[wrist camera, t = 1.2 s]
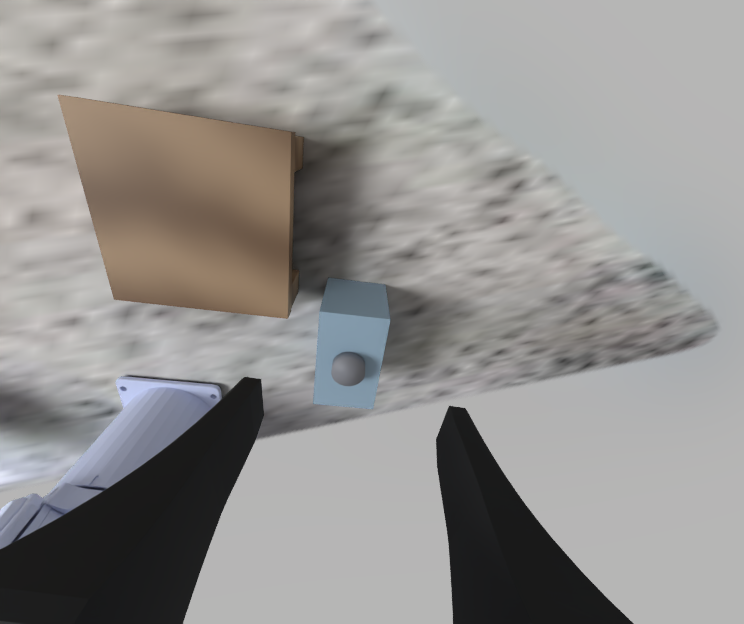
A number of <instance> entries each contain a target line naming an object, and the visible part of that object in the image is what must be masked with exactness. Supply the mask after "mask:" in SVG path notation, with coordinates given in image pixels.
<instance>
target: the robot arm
mask: <svg viewBox="0 0 744 624" xmlns="http://www.w3.org/2000/svg"><path fill="white" fill-rule="evenodd" d="M116 386H117V389H118V392H119V395H120V398H121V401H122V404H123V408H124V409H123V410H122V411H121V412H120V413H119V415H118V416H117V417H116V418H115V419H114V420H113V421H112V422H111V424H110V425H109V426H108V427H107V428H106V429H105V430H104V431H103V433H102V434H101V435H100V436H99V437H98V438H97V439H96V440H95V442H94V443H93V444H92V445H91V446H90V447H89V448H88V449H87V451H86V452H85V453H84V454H83V455H82V456H81V457H80V459H79V460H78V461H77V462H76V463H75V464H74V465H73V466H72V468H71V469H70V470H69V471H68V472H67V473H66V474H65V475H64V477H63V478H62V479H61V480H60V481H59V482H58V483H57V484H56V486H55V487H54V488H53V489H52V490H51V491H50V492H49V493H48V494H47V495H46V496H44V497H43V498H42V497H41V496H39V495H38V494H30V495H28V496H26V497H22V498H19V499H15V500H12V501H10V502H9V503H8V504H6V505H5V506H4V507H2V508H1V509H0V624H183V621H184V618H185V615H186V612H187V609H188V606H189V603H190V600H191V597H192V594H193V591H194V588H195V585H196V582H197V579H198V576H199V573H200V571H201V568H202V565H203V562H204V559H205V557H206V554H207V551H208V548H209V545H210V543H211V540H212V537H213V535H214V532H215V529H216V526H217V524H218V521H219V518H220V516H221V513H222V511H223V509H224V506H225V504H226V502H227V499H228V497H229V495H230V493H231V491H232V489H233V487H234V485H235V483H236V481H237V478H238V476H239V474H240V472H241V470H242V468H243V466H244V464H245V462H246V459H247V457H248V455H249V453H250V451H251V449H252V447H253V444H254V442H255V440H256V437H257V434H258V431H259V428H260V425H261V422H262V419H263V416H264V410H263V398H262V386H261V379H256V378H249V377H244V378H243V379H241V380H240V381H239V382H238V383H237V384H236V385H235V386H234V387H233V388H232V389H231V390H230V391H229V392H228V393H227V394H226V395H225V396H224V397H223V398H222V395H221V389H220V387H219V386H217V385H213V384H202V383H191V382H180V381H169V380H158V379H147V378H136V377H125V376H121V377H119V378H118V379H117V380H116ZM213 394H214V395H213ZM215 395H216V396H215ZM436 447H437V468H438V475H439V481H440V488H441V494H442V500H443V507H444V513H445V520H446V527H447V534H448V542H449V555H450V570H451V587H452V605H453V624H633V623H632V622H631V621H630V620H629V619H628V618H627V617H626V616H625V615H624V614H623V613H622V612H621V611H620V610H619V609H618V608H617V607H615V606H614V604H612V602H611V601H609V600H608V599H607V598H606V597H605V596H604V595H603V593H602V592H600V590H598V588H597V587H596V586H595V585H594V584H593V583H592V582H591V581H590V580H589V579H588V578H587V577H586V576H585V575H584V574H583V573H582V572H581V570H580V569H579V568H578V567H577V566H576V565H575V564H574V563H573V561H572V560H571V559H570V558H569V557H568V556H567V555H566V554H565V552H564V551H563V550H562V549H561V548H560V547H559V546H558V544H557V543H556V542H555V541H554V540H553V539H552V538H551V536H550V535H549V534H548V533H547V532H546V530H545V529H544V528H543V527H542V525H541V524H540V523H539V522H538V520H537V519H536V518H535V516H534V515H533V514H532V513H531V511H530V510H529V509H528V507H527V506H526V505H525V503H524V502H523V501H522V499H521V498H520V496H519V495H518V494H517V492H516V491H515V489H514V488H513V486H512V485H511V483H510V482H509V481H508V479H507V478H506V476H505V475H504V473H503V472H502V470H501V468H500V467H499V465H498V464H497V462H496V460H495V459H494V457H493V456H492V454H491V452H490V451H489V449H488V447H487V446H486V444H485V443H484V441H483V439H482V437H481V435H480V434H479V432H478V430H477V428H476V427H475V425H474V423H473V421H472V419H471V417H470V416H469V414H468V412H467V410H466V409H465V408H460V407H453V406H449V408H448V410H447V413H446V415H445V418H444V421H443V423H442V426H441V428H440V431H439V434H438V436H437V439H436Z"/></svg>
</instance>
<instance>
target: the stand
mask: <svg viewBox="0 0 744 624" xmlns="http://www.w3.org/2000/svg"><path fill="white" fill-rule="evenodd" d="M58 98H59V102H60V106H61V109H62V113H63V116H64V120H65V124H66V127H67V131H68V134H69V138H70V142H71V145H72V149H73V153H74V156H75V160H76V163H77V167H78V171H79V174H80V178H81V182H82V185H83V189H84V192H85V196H86V200H87V203H88V207H89V211H90V214H91V218H92V221H93V225H94V229H95V232H96V236H97V240H98V243H99V247H100V250H101V254H102V258H103V261H104V265H105V269H106V272H107V276H108V279H109V283H110V287H111V290H112V294H113V297H114V300H123V301H132V302H141V303H150V304H159V305H168V306H177V307H186V308H195V309H204V310H213V311H222V312H232V313H241V314H250V315H259V316H268V317H277V318H286V319H288V317H289V315H290V312H291V308H292V305H293V303H294V301H295V298H296V296H297V294H298V289H299V270H293V269H292V253H293V209H294V172H296V171H298V170H300V169H302V168H303V143H304V137H300V136H295V132H289V131H283V130H277V129H271V128H265V127H258V126H252V125H246V124H240V123H233V122H227V121H221V120H215V119H209V118H202V117H196V116H190V115H184V114H177V113H171V112H165V111H159V110H153V109H146V108H140V107H134V106H128V105H121V104H115V103H109V102H103V101H96V100H90V99H84V98H78V97H71V96H64V95H58Z"/></svg>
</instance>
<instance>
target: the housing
mask: <svg viewBox="0 0 744 624" xmlns="http://www.w3.org/2000/svg"><path fill="white" fill-rule="evenodd" d="M389 325H390V313H389V306H388V299H387V292H386V285H385V284H377V283H368V282H360V281H352V280H344V279H336V278H328V281H327V285H326V289H325V292H324V296H323V300H322V304H321V308H320V313H319V327H318V341H317V355H316V369H315V383H314V397H313V404H320V405H332V406H343V407H355V408H366V409H373V407H374V401H375V396H376V391H377V386H378V381H379V376H380V371H381V366H382V360H383V355H384V350H385V345H386V340H387V335H388V330H389Z"/></svg>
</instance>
